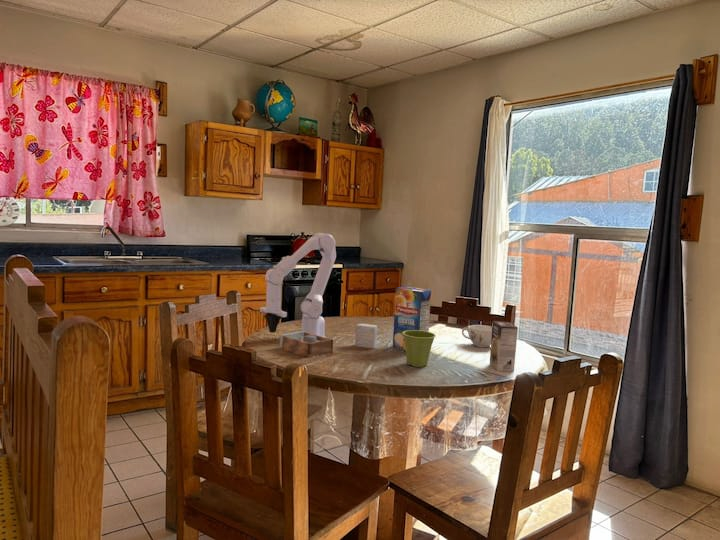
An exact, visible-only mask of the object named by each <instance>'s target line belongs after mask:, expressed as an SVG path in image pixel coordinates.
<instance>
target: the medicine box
mask: <svg viewBox="0 0 720 540" xmlns="http://www.w3.org/2000/svg"><path fill="white" fill-rule="evenodd" d="M354 346H355V347H359V348H367V349H375V348H376V347H378V325H376V324H370V323H369V324H368V323H367V324H366V323H358V324H357V325H355V339H354Z"/></svg>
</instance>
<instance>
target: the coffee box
mask: <svg viewBox="0 0 720 540" xmlns="http://www.w3.org/2000/svg"><path fill="white" fill-rule="evenodd" d="M491 326H492V338H491V345H490V351H489V352H490V353H489V355H490V356H489V365H490V366H492V368H493V369H495V370H496V371H497V372H514V371H515V364H516V352H517V342H518V341H517V339H518V331H519V330H518V326H516V325H514V324H513V323H511V322H509V321H494V320H493V321H492V324H491Z"/></svg>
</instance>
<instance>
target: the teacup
mask: <svg viewBox="0 0 720 540" xmlns="http://www.w3.org/2000/svg"><path fill="white" fill-rule="evenodd" d="M465 331H466V332H467V333H468V335H466V334H465V333H464V332H465ZM461 334H462V336H463V337H464V338H466V339H468V340H470V341H471V342H472V343H473V345H474V346H475V347H477V348H489V347H491V338H492V325H487V324H486V325H483V324H472V325H468V326H467V327H463V328H462V330H461Z"/></svg>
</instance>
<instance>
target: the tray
mask: <svg viewBox="0 0 720 540" xmlns="http://www.w3.org/2000/svg"><path fill="white" fill-rule="evenodd" d="M304 333H306V331H302V330H301V331H295V332H291V333H283V334H280V338H279V339H280V341H279V345H280V346H281V347H282V346H283V336H287V337H290V338H294V339H297V340H301V341H303V336H304ZM316 342H318V340H316Z"/></svg>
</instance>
